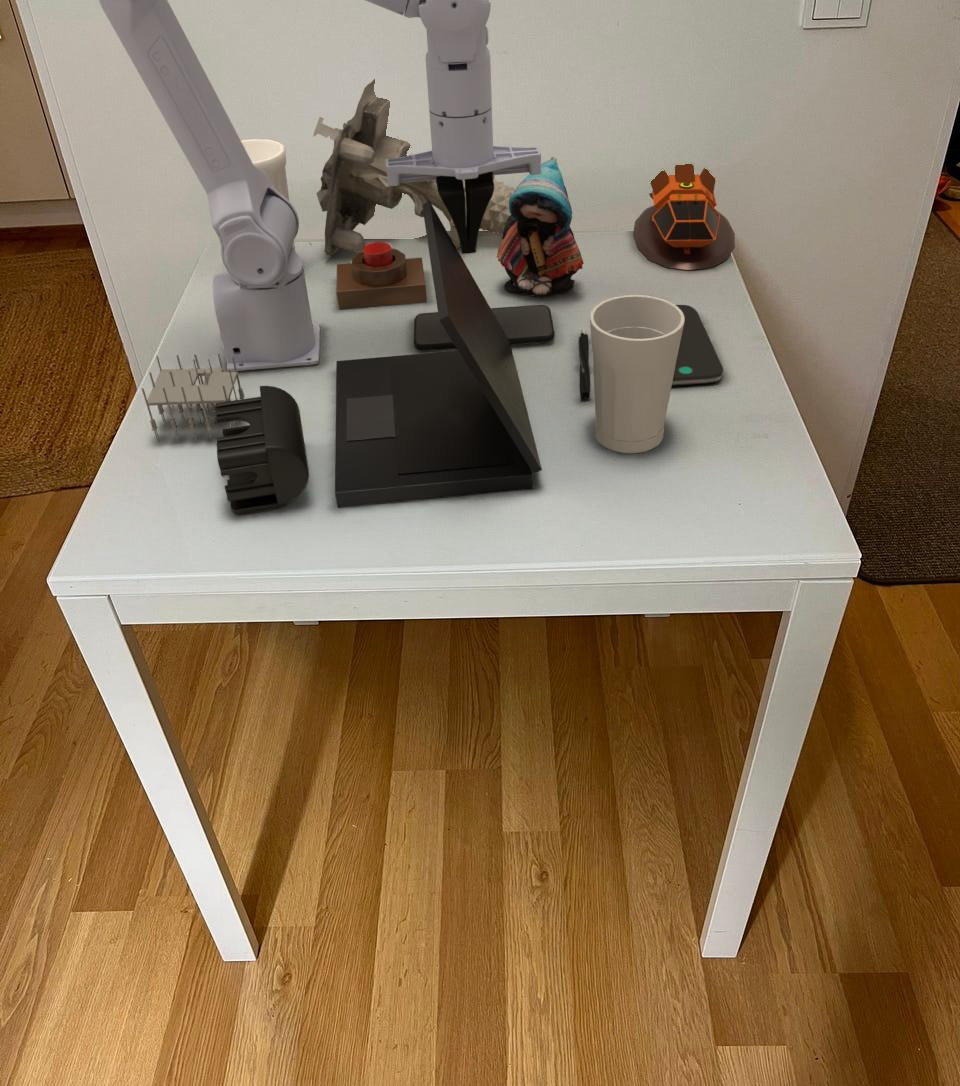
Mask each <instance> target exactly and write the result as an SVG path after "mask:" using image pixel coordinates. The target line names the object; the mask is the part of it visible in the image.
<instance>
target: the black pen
mask: <svg viewBox="0 0 960 1086" xmlns="http://www.w3.org/2000/svg"><path fill="white" fill-rule="evenodd" d="M589 345H590V343H589V334H588V331H587V330H586V329H585V330H584V331H583V329H581V330H580V333H579V337H578V352H579V390H580V397H581V399H582V400H585V399H587V400H589V399H590V398H591V373H590V362H589V361H590V360H589V358H590V356H589V351H590V350H589V349H590V348H589V347H590V346H589Z"/></svg>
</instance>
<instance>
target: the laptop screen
mask: <svg viewBox="0 0 960 1086" xmlns="http://www.w3.org/2000/svg"><path fill="white" fill-rule="evenodd" d="M422 208H423V214H424V217H423V221H424V228H425V233H426V234H425V235H426V240H427V248H428V254H429V261H430V267H431V275H432V282H433V288H434V295H435V300H436V309H437V312H438V316H439V321H440V322H441V324H442V326H443V327H444V329H445V331H446V332H447V334H448V335H449V337H450V339H451V340H452V342H453V344H454V345H455V347H456V348H455V349H456V351H457V350H458V352H459V353H460V355H461V357H462V358H463V360H464V361H465V363H466V365H467V366H468V368H469V370H470V371H471V373H472V374H473V376H474V378H475V379H476V381H477V383H478V384H479V386H480V387H481V389H482V391H483V392H484V394H485V396H486V397H487V399H488V400H489V402H490V404H491V405H492V407H493V409H494V410H495V412H496V413H497V415H498V417H499V418H500V420H501V422H502V423H503V425H504V426H505V428H506V430H507V431H508V433H509V435H510V436H511V438H512V439H513V441H514V443H515V444H516V446H517V448H518V449H519V451H520V452H521V454H522V456H523V457H524V459H525V461H526V462H527V464H528V465H529V467H530V469H531V470H532V474H538V473H539V472H541V471H542V470H543V469H542V465H541V461H540V457H539V452H538V449H537V444H536V441H535V437H534V433H533V429H532V424H531V421H530V416H529V412H528V409H527V405H526V400H525V397H524V393H523V389H522V384H521V381H520V377H519V373H518V369H517V366H516V361H515V357H514V353H513V352H514V351H513V349H512V345H511V344H510V341H509V340H508V338H507V336H506V334H505V333H504V331H503V329H502V327H501V326H500V324H499V322H498V320H497V319H496V317H495V315H494V313H493V312H492V310H491V308H492V307H491V306H490V305H489V303H488V301H487V299H486V298H485V296H484V294H483V292H482V291H481V288H480V287H479V285H478V283H477V282H476V280H475V278H474V277H473V275H472V272H471V271H470V269H469V267H468V266H467V264H466V263H465V261H464V259H463V257H462V256H461V254H460V252H459V250H458V249H457V248H456V247H455V245H454V243H453V241H452V240H451V236H450V233H448V231H447V229H446V227H445V226H444V224H443V222H442V220H441V218H440V217H439V215H438V213H437V211H436V209H435V208H434V206H433V205H432V204H431V203H430V201H428V202H427V203H425V204H423V205H422Z"/></svg>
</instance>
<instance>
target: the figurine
mask: <svg viewBox="0 0 960 1086" xmlns="http://www.w3.org/2000/svg"><path fill="white" fill-rule="evenodd" d="M509 212H510V214H511V215H510V216H509V218H508V219H507V222H506V223H505V227H504V232H503V234H501V235H502V236H501V242H500V244H499V246H498V249H497V254H496V258H497V262H500V263H499V264H500V265H501V266H502V267H503V268H504V270H505V272H506V274H507V276H508V277H509V279H508V280H507V281H506V282H505V283H504V285H503V288H504V290H505V291H506V292H507V293H509V294H518V295H526V296H529V297H535V298H545V297H546V298H547V297H552V296H556V295H563V294H565V293H568V292H570V291H571V290H572V289H574V285H575V279H572V278H573V276H574V275H575V274H576V273H578V271H579V270H582V269H583V265H584V264H585V263H584V260H583V256H582V253H581V250H580V249H579V246H578V243H577V241H576V239H575V234H574V232H573V229H572V227H571V223H572V220H573V209H572V205H571V202H570V199H569V195H568V191H567V188H566V185H565V182H564V178H563V174H562V171H561V170H560V168H559V164H558V162H557V158H556V157H555V156H551V158H550V159H549V160H546V161H543V162H541V174H536V175H531V174H529V173H528V175H527V176H526V177H524V179H523V180H522V181H521V182H520V183H518V185H517V186H516V188H515V191H514V193H513V194H511V196H510V199H509Z"/></svg>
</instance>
